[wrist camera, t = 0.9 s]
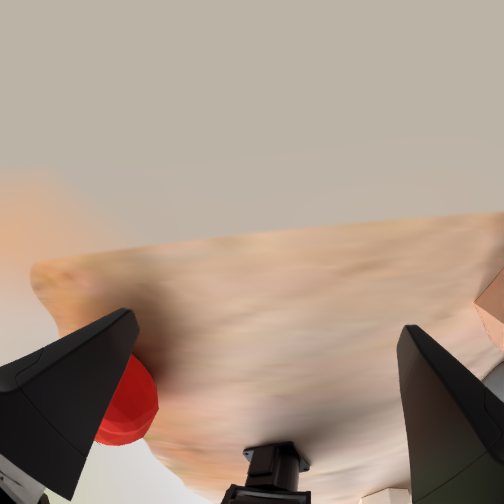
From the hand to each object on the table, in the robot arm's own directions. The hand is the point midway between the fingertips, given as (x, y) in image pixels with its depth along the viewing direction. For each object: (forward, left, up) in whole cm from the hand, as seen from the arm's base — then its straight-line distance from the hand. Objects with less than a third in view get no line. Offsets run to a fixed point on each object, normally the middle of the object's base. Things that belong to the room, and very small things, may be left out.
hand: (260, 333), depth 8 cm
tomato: (-5, +23, -15) cm, 28 cm away
